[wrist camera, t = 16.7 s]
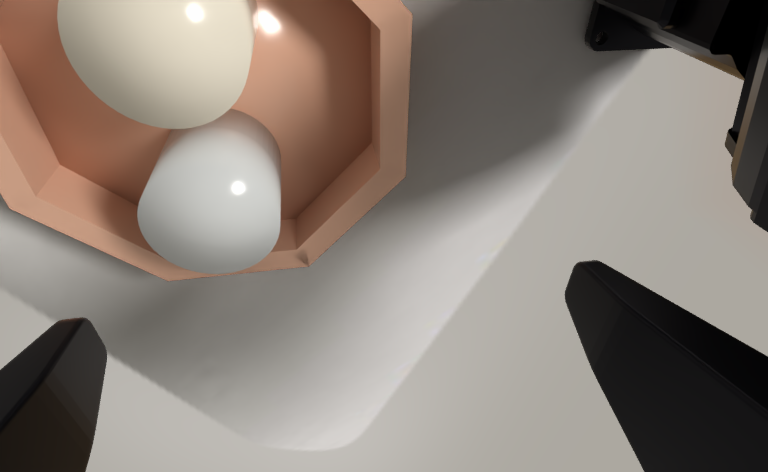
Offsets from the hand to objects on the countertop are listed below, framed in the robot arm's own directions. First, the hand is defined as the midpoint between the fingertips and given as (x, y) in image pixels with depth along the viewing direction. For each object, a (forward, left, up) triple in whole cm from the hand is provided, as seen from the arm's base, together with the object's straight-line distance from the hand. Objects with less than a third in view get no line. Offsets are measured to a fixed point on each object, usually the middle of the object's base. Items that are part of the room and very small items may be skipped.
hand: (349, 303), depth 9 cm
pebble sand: (+4, -3, -11) cm, 12 cm away
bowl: (+4, 0, -12) cm, 13 cm away
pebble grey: (+4, +3, -11) cm, 12 cm away
